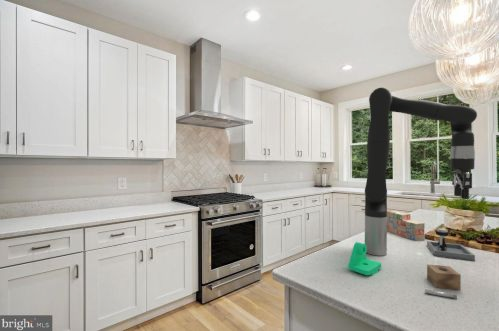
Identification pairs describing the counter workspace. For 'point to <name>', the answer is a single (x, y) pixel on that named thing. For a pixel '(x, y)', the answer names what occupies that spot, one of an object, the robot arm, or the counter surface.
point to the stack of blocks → (404, 225)
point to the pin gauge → (441, 294)
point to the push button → (442, 239)
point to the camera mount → (362, 261)
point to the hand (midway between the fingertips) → (461, 197)
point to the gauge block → (443, 277)
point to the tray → (451, 251)
